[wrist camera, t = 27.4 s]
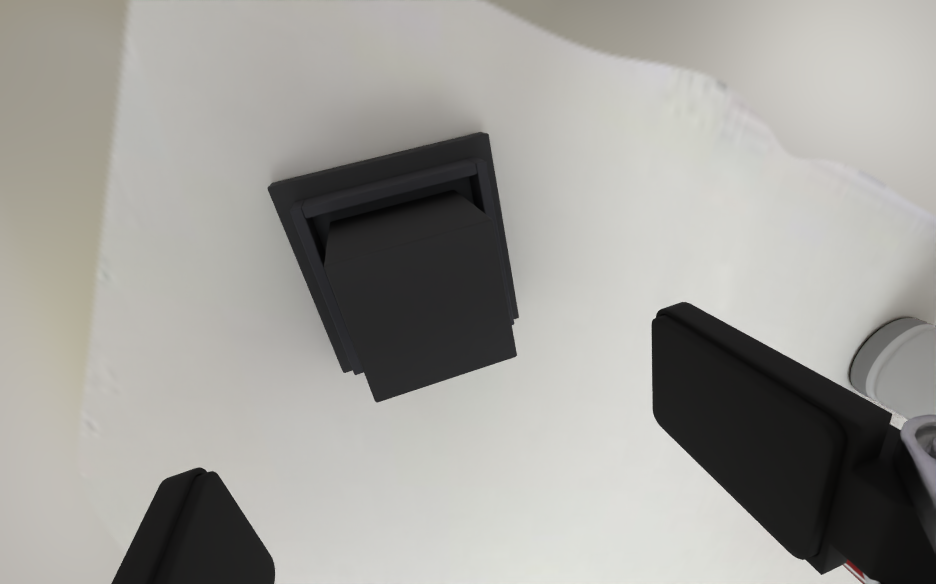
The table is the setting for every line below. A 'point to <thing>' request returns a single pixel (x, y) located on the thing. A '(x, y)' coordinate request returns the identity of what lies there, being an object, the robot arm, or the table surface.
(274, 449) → the table surface
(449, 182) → the base pad
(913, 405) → the travel mug
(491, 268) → the black cube
